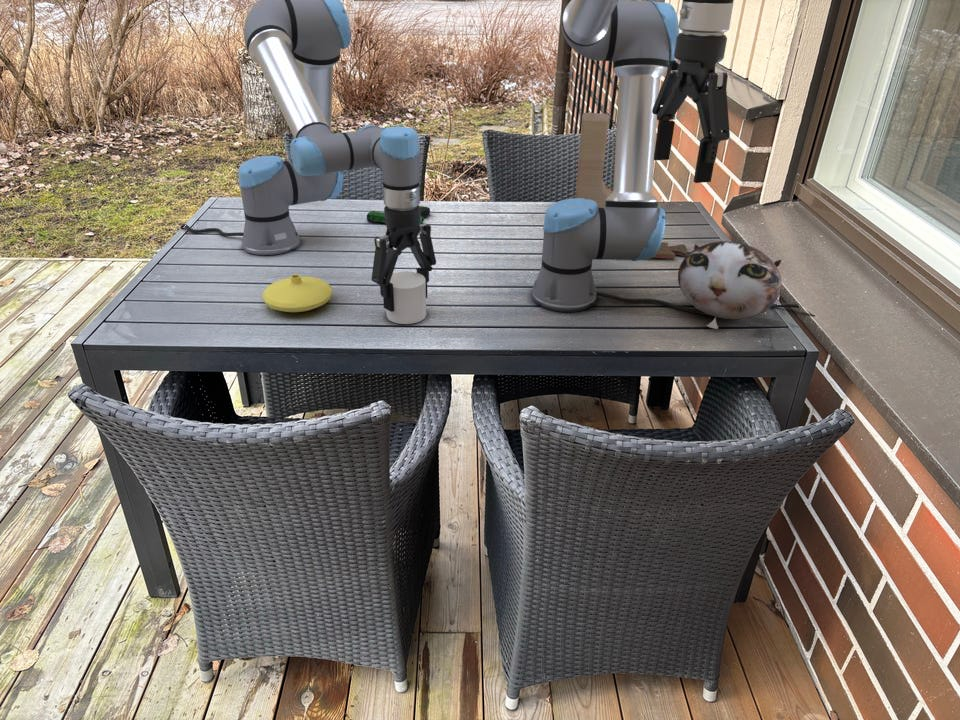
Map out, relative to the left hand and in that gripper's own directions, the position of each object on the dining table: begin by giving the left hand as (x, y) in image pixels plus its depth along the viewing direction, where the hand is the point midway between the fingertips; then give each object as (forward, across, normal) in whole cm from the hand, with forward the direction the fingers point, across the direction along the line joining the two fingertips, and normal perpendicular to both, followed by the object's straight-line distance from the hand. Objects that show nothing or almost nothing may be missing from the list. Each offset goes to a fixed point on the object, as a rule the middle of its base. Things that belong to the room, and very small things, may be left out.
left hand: (405, 302), depth 160 cm
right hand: (-38, +19, -52) cm, 67 cm away
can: (+3, 0, 0) cm, 3 cm away
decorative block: (+4, +86, +11) cm, 87 cm away
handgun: (+4, +40, +50) cm, 64 cm away
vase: (+3, -15, +21) cm, 26 cm away
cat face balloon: (+3, +53, -49) cm, 72 cm away
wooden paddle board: (+3, +71, -15) cm, 72 cm away
